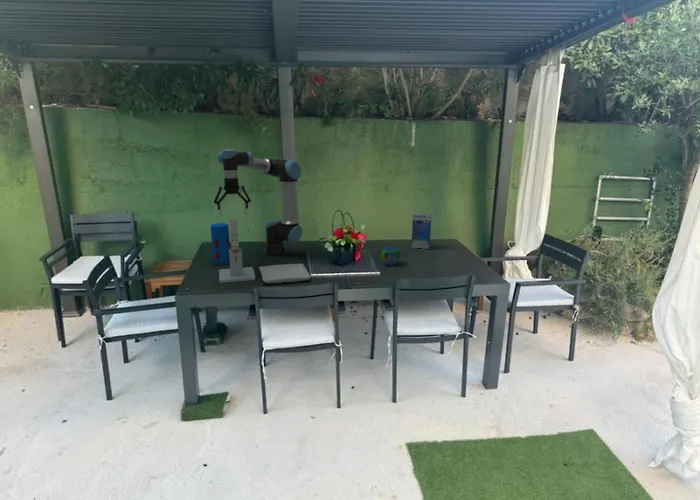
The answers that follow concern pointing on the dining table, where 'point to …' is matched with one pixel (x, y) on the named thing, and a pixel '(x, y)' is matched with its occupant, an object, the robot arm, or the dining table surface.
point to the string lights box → (421, 230)
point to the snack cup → (390, 255)
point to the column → (234, 235)
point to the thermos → (220, 243)
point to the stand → (236, 269)
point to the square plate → (284, 273)
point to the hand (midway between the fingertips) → (233, 214)
